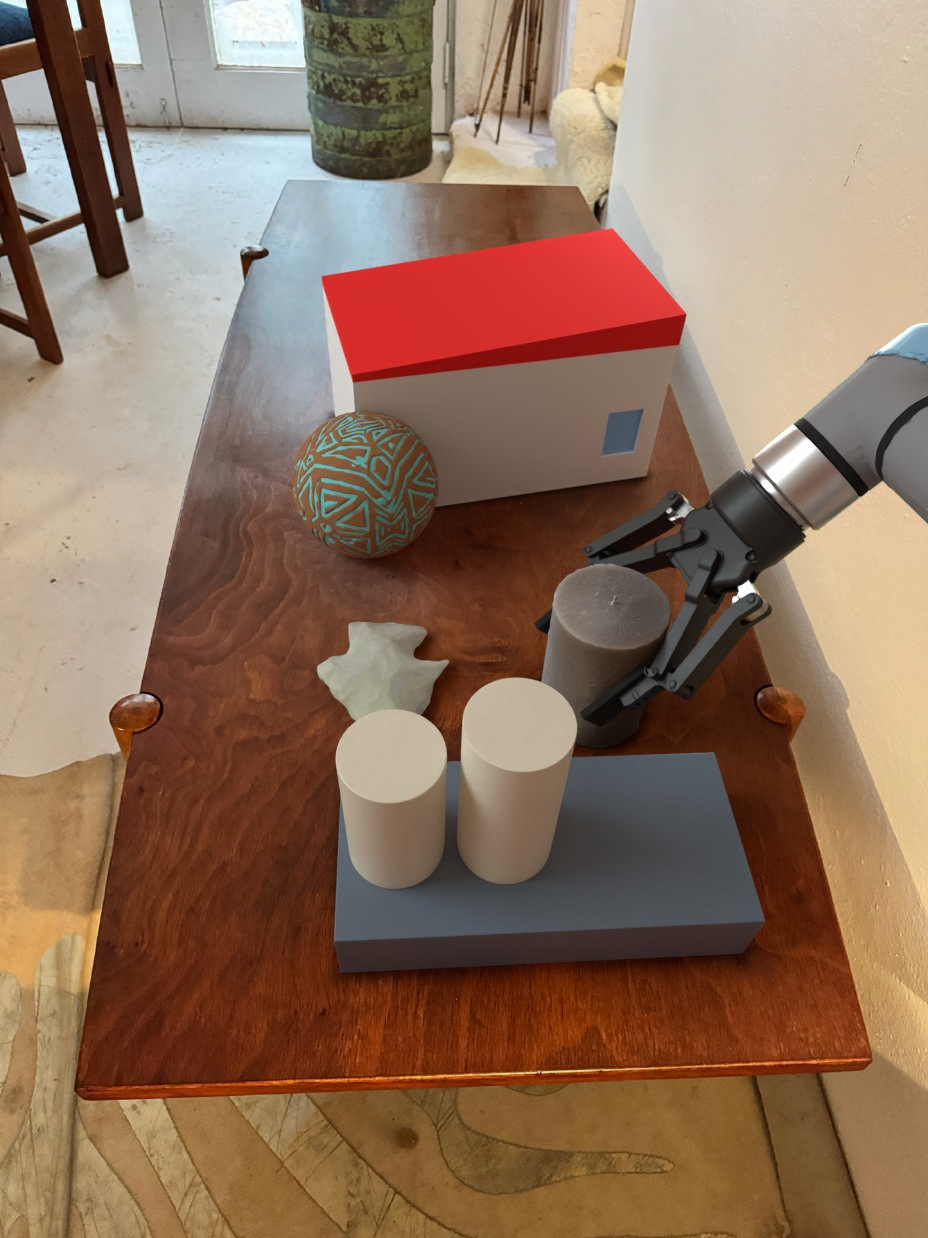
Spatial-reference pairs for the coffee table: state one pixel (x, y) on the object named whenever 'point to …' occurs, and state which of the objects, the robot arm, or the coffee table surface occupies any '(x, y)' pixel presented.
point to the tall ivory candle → (512, 777)
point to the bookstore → (511, 360)
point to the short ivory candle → (393, 796)
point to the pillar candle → (603, 642)
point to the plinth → (573, 880)
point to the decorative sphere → (365, 484)
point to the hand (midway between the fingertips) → (566, 673)
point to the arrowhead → (381, 670)
